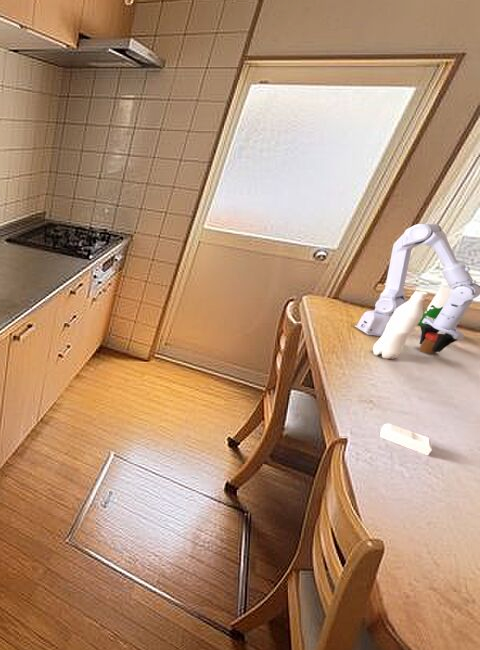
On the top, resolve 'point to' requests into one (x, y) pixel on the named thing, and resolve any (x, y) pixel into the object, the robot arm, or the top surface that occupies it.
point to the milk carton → (437, 304)
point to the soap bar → (406, 438)
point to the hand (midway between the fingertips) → (429, 347)
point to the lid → (432, 336)
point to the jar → (427, 346)
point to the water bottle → (400, 326)
